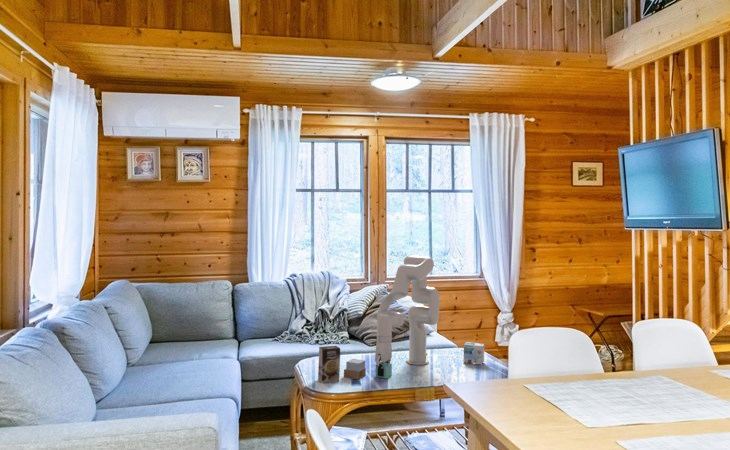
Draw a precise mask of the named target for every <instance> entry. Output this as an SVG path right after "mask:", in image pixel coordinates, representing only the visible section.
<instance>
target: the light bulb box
mask: <svg viewBox="0 0 730 450" xmlns="http://www.w3.org/2000/svg"><path fill="white" fill-rule="evenodd" d="M462 361H463V362H466V363H465V364H467V363H475V364H482V363H483V362H484V363H485V344H484V343H479V342H470V341H469V342H468V341H466V342H465V343H464V344H463V360H462ZM463 362H462V363H463ZM484 363H483V364H484ZM475 364H474V365H475Z"/></svg>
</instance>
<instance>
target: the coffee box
mask: <svg viewBox="0 0 730 450" xmlns="http://www.w3.org/2000/svg"><path fill="white" fill-rule="evenodd" d="M318 349H319V350H318V366H317V367H318V371H317V372H318V373H317V374H318V375H317V380H318V381H319V382H320V383H321V384H328V383H327V382H329V383H337V382H338V383H339V382H340V374H341V373H340V370H341V347H339V346H337V345H329V346H328V345H327V346H319V347H318Z"/></svg>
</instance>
